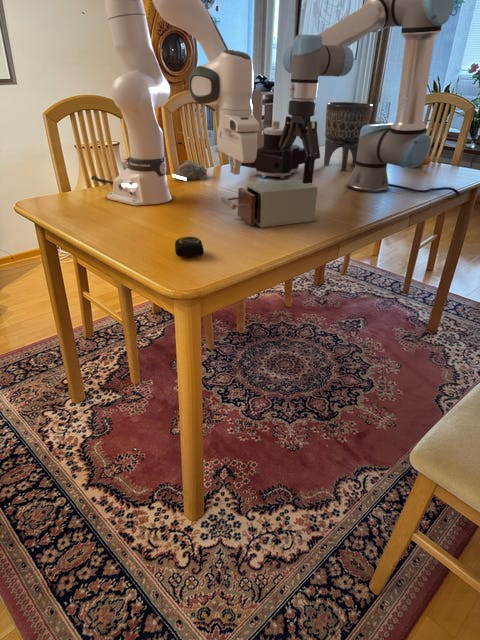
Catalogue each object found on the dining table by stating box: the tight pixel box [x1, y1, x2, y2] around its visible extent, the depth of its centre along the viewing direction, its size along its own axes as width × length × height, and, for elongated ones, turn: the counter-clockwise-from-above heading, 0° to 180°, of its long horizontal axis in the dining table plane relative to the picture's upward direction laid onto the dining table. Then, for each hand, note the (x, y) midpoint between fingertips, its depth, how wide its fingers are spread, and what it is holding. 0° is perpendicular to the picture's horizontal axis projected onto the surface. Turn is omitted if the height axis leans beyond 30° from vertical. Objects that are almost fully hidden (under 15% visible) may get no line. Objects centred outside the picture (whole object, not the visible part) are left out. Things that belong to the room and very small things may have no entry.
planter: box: [323, 101, 374, 172], centre depth 204 cm, size 20×20×26 cm
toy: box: [417, 157, 432, 168], centre depth 216 cm, size 11×6×15 cm
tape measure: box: [174, 236, 205, 258], centre depth 113 cm, size 7×7×4 cm
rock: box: [175, 159, 208, 182], centre depth 183 cm, size 13×9×6 cm, turn 131°
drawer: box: [220, 187, 261, 226], centre depth 136 cm, size 23×10×8 cm, turn 113°
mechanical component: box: [241, 120, 307, 179], centre depth 191 cm, size 22×21×30 cm
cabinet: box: [246, 178, 318, 228], centre depth 139 cm, size 18×11×10 cm, turn 113°
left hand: (234, 173), depth 128 cm, fingers closed
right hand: (295, 178), depth 137 cm, fingers open, 13 cm apart
